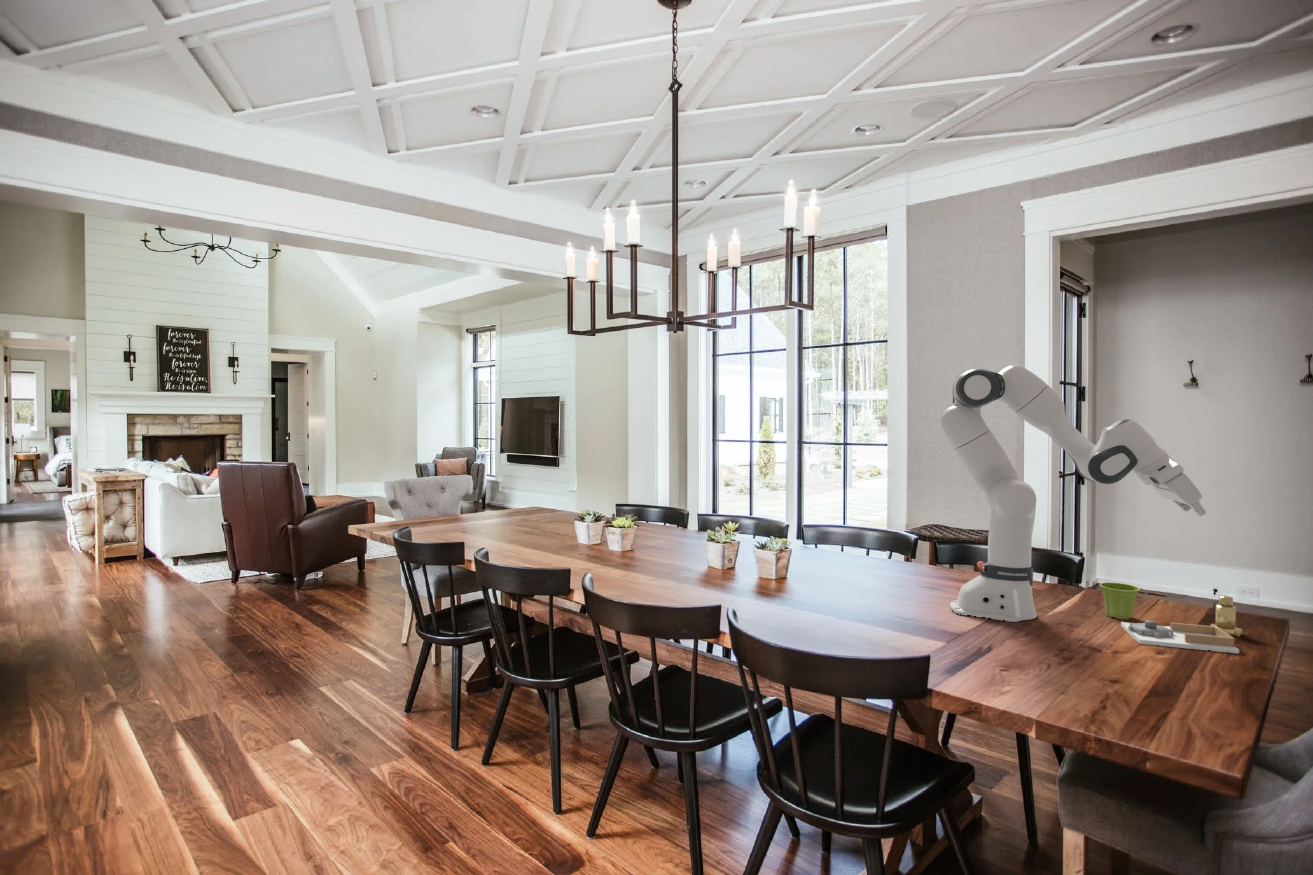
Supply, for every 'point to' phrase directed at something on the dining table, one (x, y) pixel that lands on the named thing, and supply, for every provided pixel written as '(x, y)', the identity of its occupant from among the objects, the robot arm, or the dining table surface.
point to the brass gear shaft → (1226, 616)
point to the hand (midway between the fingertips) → (1195, 512)
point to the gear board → (1181, 636)
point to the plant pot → (1119, 599)
